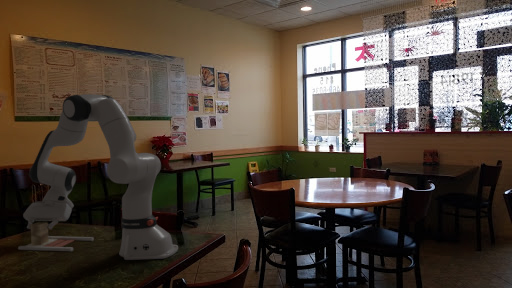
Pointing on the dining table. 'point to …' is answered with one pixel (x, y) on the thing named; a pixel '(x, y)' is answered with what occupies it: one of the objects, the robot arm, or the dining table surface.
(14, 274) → the dining table surface
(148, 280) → the dining table surface
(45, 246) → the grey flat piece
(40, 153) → the robot arm
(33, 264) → the dining table surface
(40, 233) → the maple block
